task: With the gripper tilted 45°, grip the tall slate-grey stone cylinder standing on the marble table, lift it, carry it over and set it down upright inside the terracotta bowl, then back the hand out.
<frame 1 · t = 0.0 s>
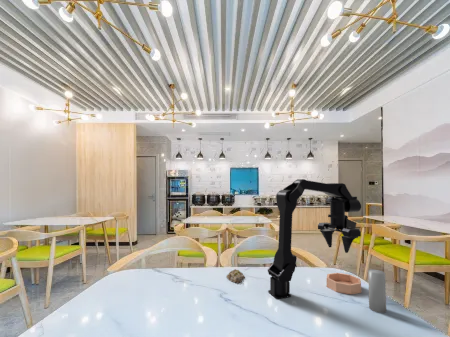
hand: (338, 249, 105), 15 cm above the table, tool pointing down, fingers open, 9 cm apart
terracotta bowl: (343, 287, 103), on the table
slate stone: (377, 309, 85), on the table
mineral rock: (235, 279, 111), on the table
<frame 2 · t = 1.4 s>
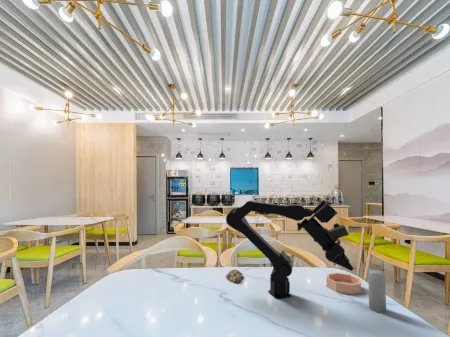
hand: (350, 265, 88), 14 cm above the table, tool tilted 45°, fingers open, 9 cm apart
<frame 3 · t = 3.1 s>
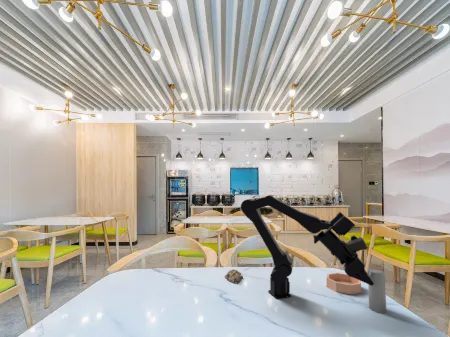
hand: (369, 279, 86), 9 cm above the table, tool tilted 45°, fingers open, 9 cm apart
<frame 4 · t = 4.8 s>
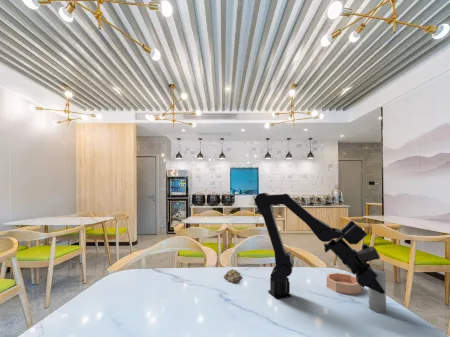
hand: (381, 289, 85), 7 cm above the table, tool tilted 45°, fingers closed on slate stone, 5 cm apart
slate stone: (377, 309, 85), on the table, touching gripper
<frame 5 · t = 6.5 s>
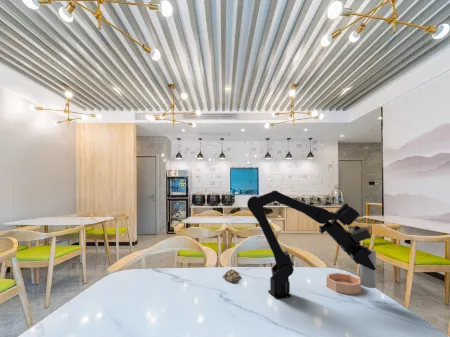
hand: (371, 267, 91), 12 cm above the table, tool tilted 45°, fingers closed on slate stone, 5 cm apart
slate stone: (368, 285, 91), point 6 cm above the table, touching gripper
when the fingers open (9 cm above the table, at t = 8.6 s): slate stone drops 1 cm, resting on terracotta bowl.
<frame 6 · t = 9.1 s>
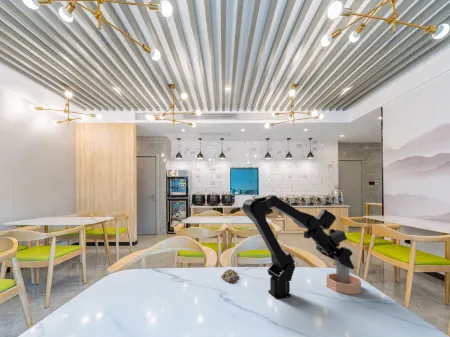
hand: (346, 264, 104), 9 cm above the table, tool tilted 45°, fingers open, 9 cm apart
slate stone: (343, 285, 103), point 1 cm above the table, touching terracotta bowl
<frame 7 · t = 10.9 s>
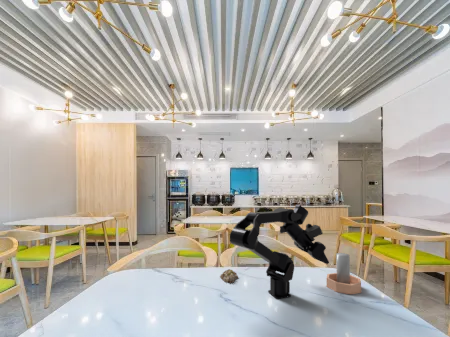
hand: (322, 259, 103), 11 cm above the table, tool tilted 45°, fingers open, 9 cm apart
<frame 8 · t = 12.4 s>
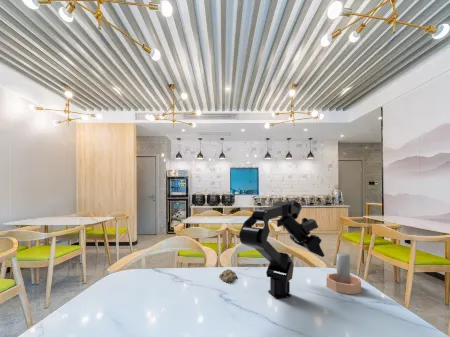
hand: (317, 253, 104), 14 cm above the table, tool tilted 45°, fingers open, 9 cm apart
at the end: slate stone 0.1 cm off-centre on the terracotta bowl, point 0.8 cm above the terracotta bowl's base; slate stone tilted 0°; the gripper is holding nothing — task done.
